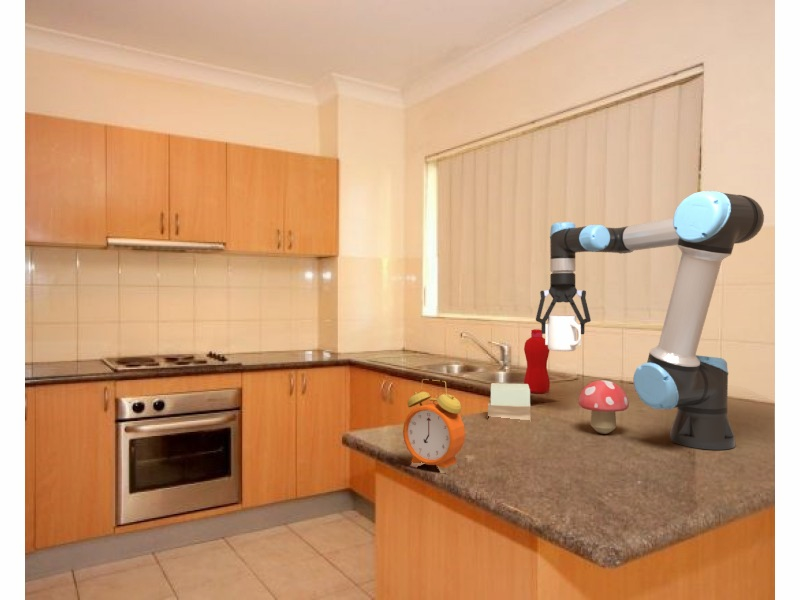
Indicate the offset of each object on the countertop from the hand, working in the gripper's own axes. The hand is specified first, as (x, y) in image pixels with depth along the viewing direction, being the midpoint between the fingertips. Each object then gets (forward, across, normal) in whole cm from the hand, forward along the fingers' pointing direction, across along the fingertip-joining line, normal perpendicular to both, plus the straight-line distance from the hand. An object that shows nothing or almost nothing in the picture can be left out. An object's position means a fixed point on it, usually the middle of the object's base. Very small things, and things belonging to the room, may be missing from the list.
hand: (562, 344), depth 175 cm
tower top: (+19, +16, -2) cm, 25 cm away
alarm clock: (+24, +32, +56) cm, 69 cm away
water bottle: (+24, +7, -49) cm, 55 cm away
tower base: (+24, +16, -1) cm, 29 cm away
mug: (+2, -1, 0) cm, 2 cm away
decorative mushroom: (+24, -10, +16) cm, 30 cm away
